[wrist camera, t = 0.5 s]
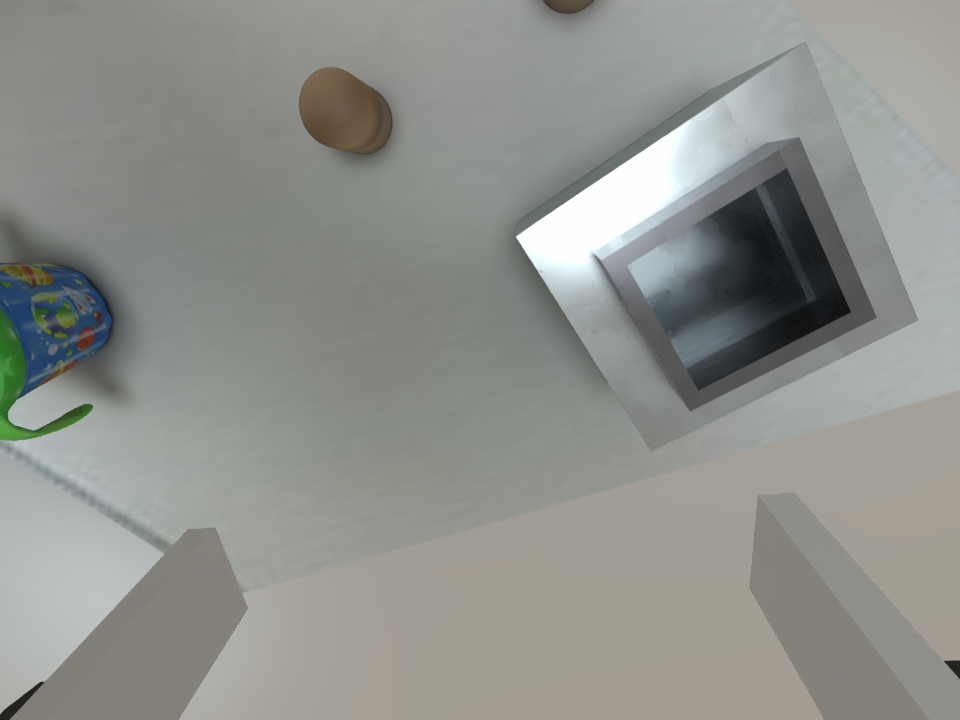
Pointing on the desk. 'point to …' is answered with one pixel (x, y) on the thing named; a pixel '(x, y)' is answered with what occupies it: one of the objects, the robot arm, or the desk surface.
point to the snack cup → (45, 335)
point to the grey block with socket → (721, 252)
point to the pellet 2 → (568, 5)
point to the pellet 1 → (344, 112)
